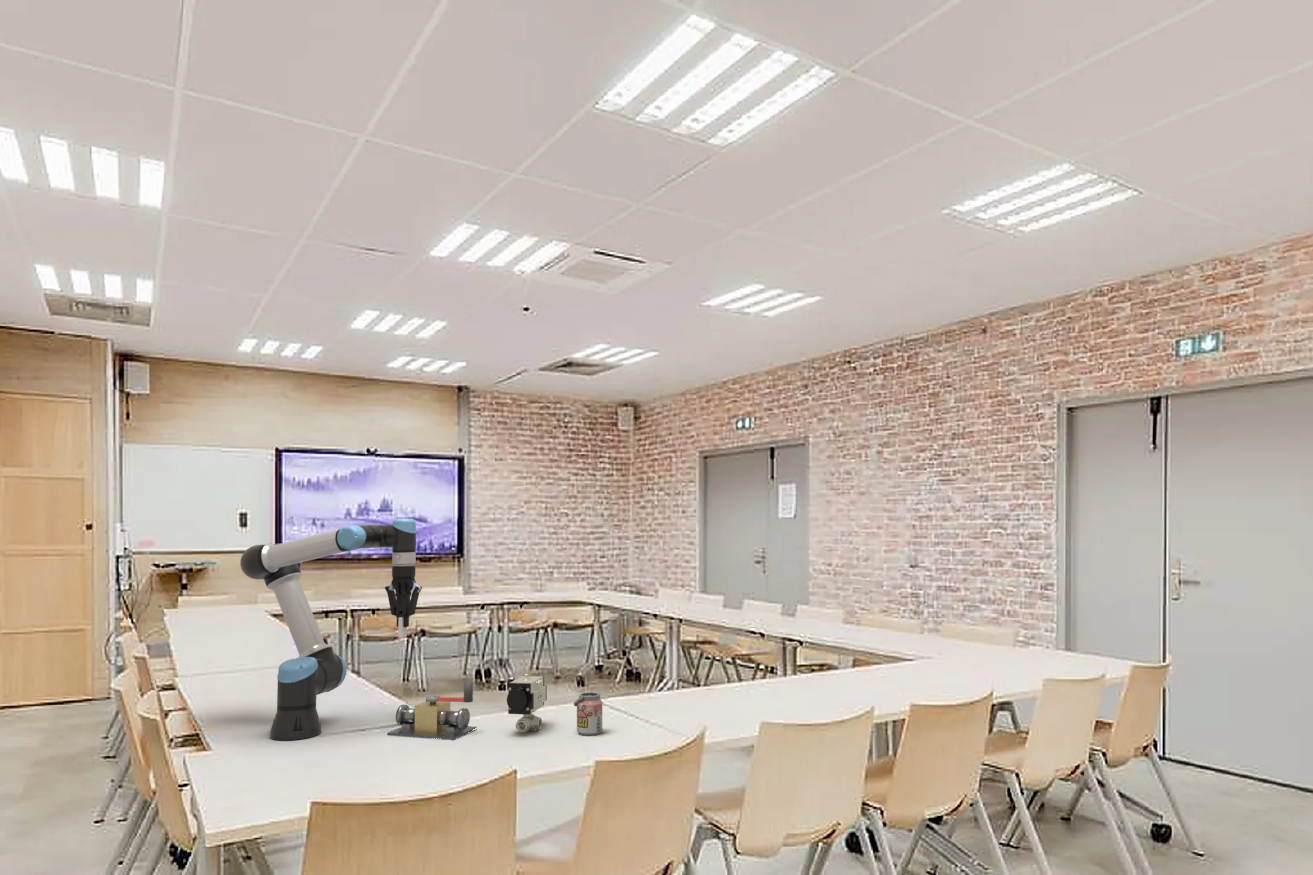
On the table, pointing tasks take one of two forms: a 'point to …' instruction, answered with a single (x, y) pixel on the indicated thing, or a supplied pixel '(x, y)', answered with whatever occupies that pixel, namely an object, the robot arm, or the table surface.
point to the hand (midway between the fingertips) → (402, 637)
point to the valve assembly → (432, 721)
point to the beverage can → (589, 714)
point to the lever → (467, 697)
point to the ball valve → (527, 701)
